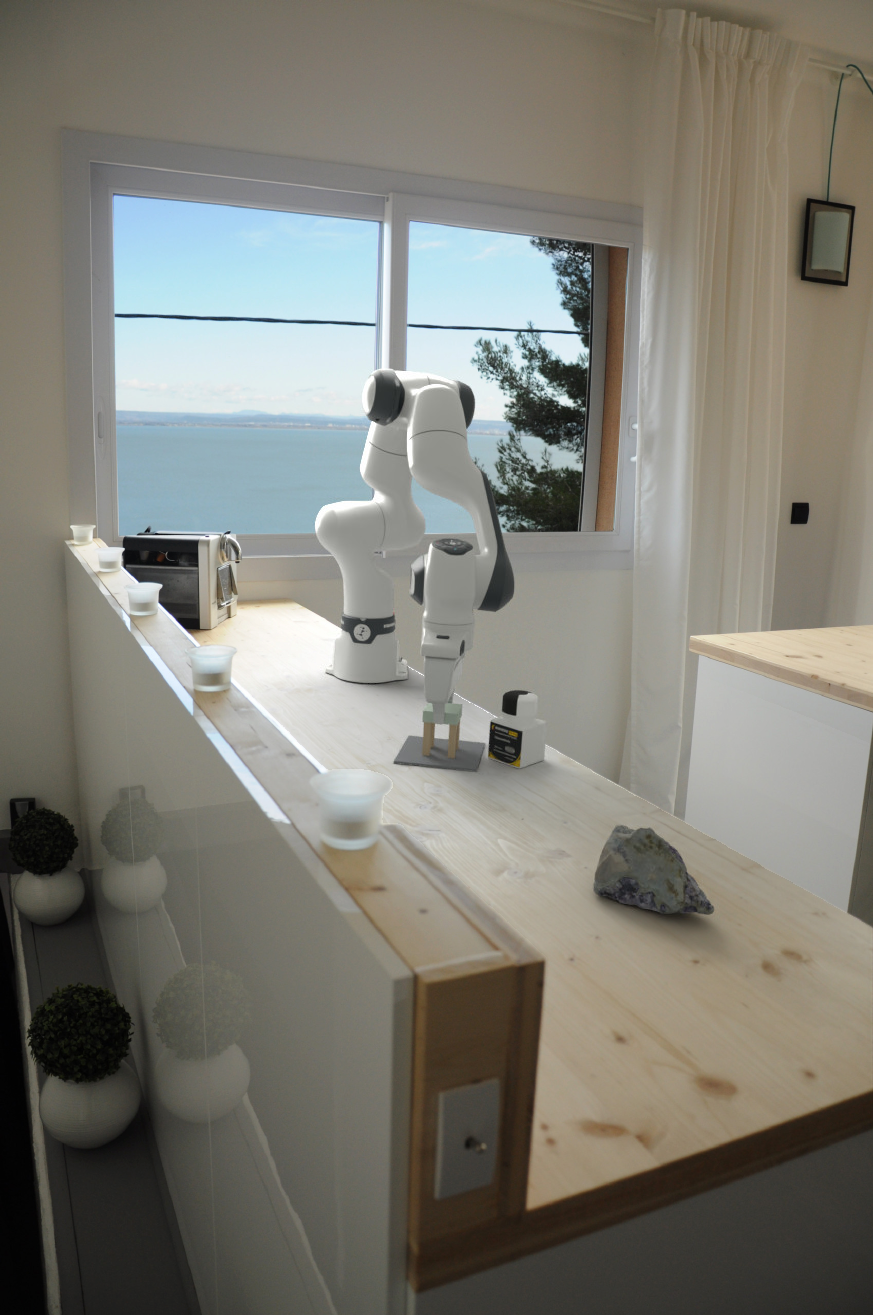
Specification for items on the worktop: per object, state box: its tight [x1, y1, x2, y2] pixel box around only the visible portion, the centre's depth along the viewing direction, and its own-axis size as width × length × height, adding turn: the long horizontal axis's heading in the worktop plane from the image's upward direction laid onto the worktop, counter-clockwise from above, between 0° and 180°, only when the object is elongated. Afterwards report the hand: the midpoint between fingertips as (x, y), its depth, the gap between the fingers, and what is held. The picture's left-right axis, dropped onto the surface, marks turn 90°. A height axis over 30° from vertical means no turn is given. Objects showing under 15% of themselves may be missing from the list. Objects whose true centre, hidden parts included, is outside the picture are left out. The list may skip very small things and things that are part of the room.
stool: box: [422, 702, 463, 758], centre depth 164 cm, size 6×6×8 cm
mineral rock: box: [592, 824, 715, 916], centre depth 114 cm, size 13×11×10 cm
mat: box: [393, 735, 486, 772], centre depth 165 cm, size 14×14×1 cm
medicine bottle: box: [487, 689, 548, 769], centre depth 163 cm, size 7×7×12 cm
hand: (443, 714), depth 163 cm, fingers open, 8 cm apart
